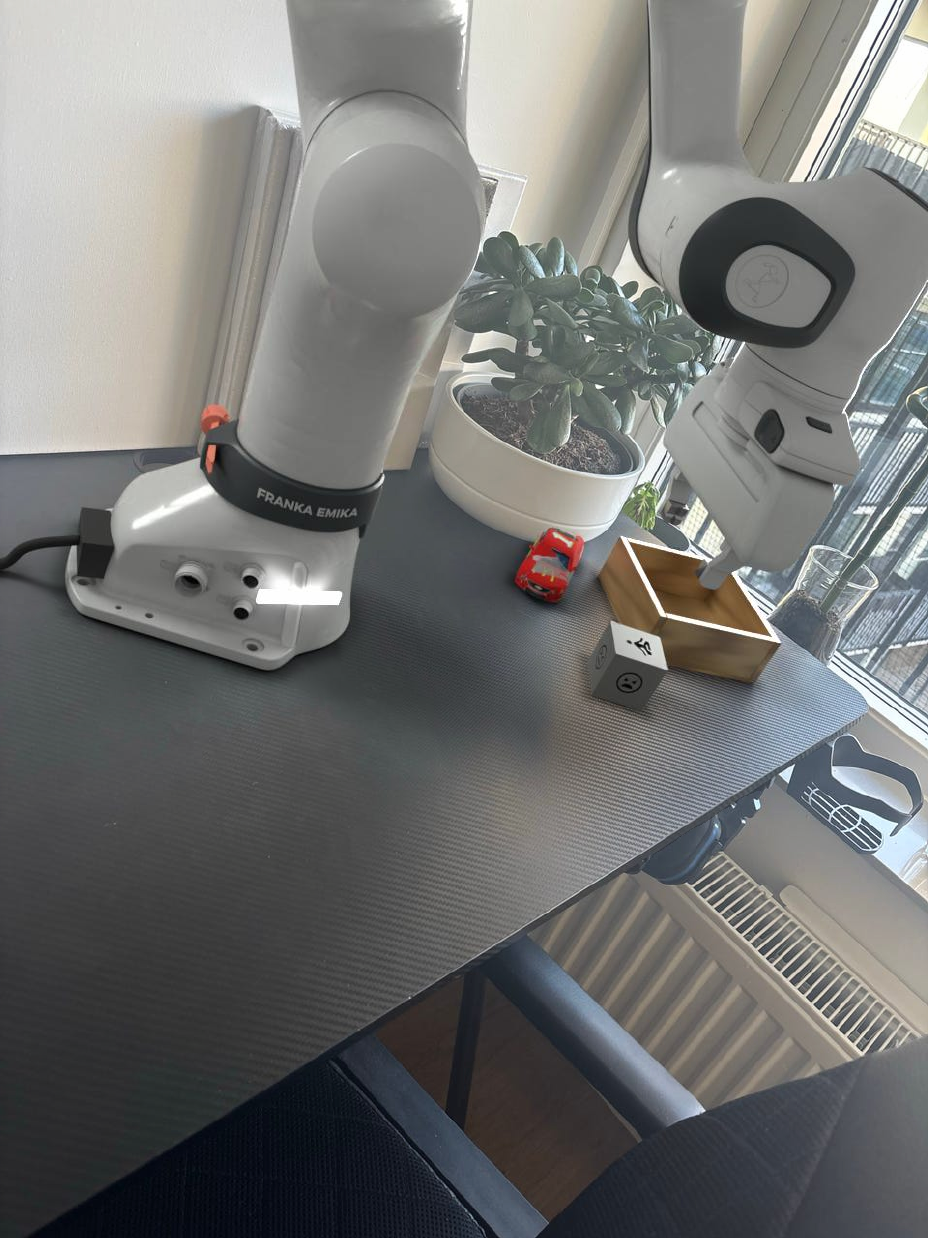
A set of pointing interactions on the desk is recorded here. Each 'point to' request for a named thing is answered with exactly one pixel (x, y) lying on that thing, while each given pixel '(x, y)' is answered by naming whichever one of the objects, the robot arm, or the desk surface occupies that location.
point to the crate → (688, 611)
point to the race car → (550, 564)
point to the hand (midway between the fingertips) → (685, 550)
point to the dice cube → (626, 666)
